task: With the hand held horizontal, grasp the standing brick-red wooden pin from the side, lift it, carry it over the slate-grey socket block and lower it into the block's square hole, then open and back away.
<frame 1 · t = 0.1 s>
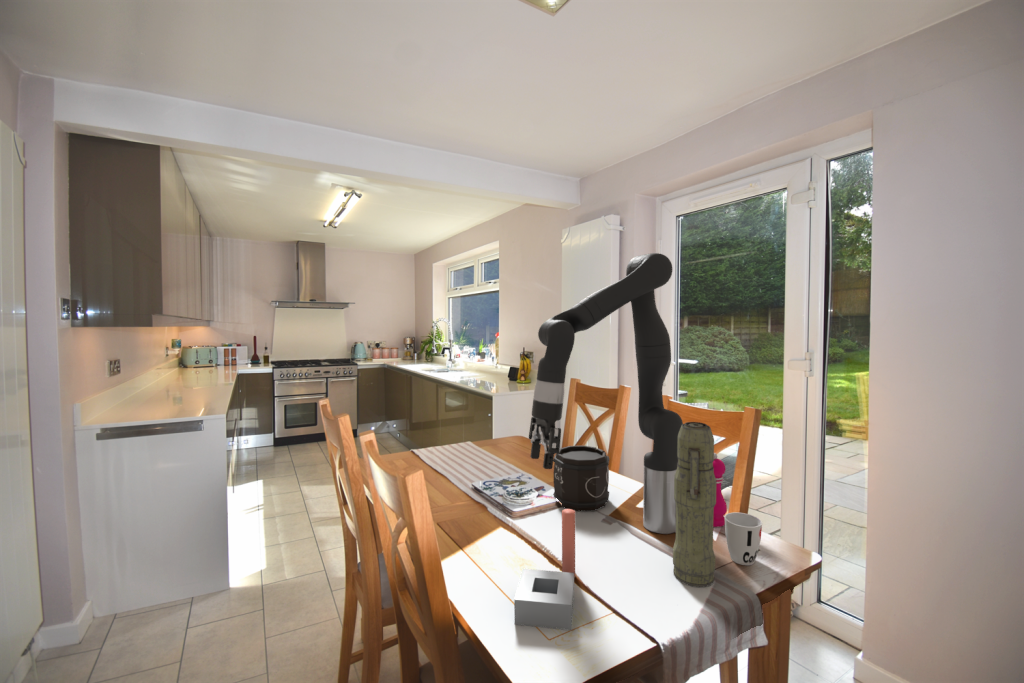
hand: (540, 463, 118), 22 cm above the table, tool pointing down, fingers open, 8 cm apart
cup: (742, 560, 114), on the table
thermos: (693, 576, 107), on the table
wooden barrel: (581, 501, 150), on the table
pepper mill: (712, 522, 134), on the table
pin: (568, 575, 108), on the table
socket block: (545, 609, 96), on the table
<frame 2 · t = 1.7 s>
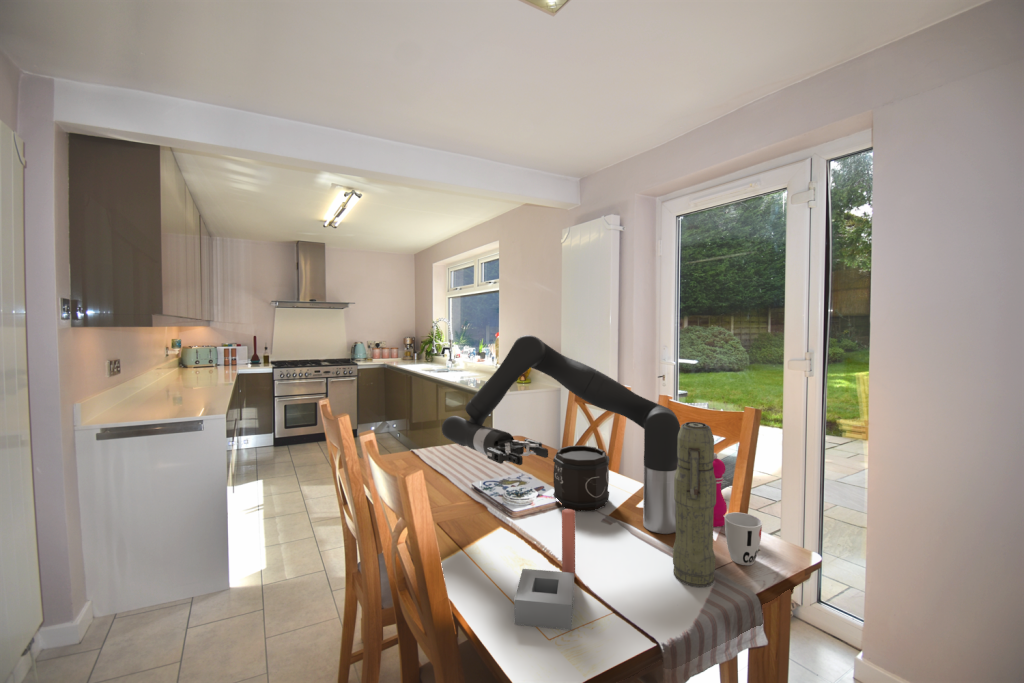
hand: (534, 457, 115), 25 cm above the table, tool horizontal, fingers open, 8 cm apart
nothing on the table moved.
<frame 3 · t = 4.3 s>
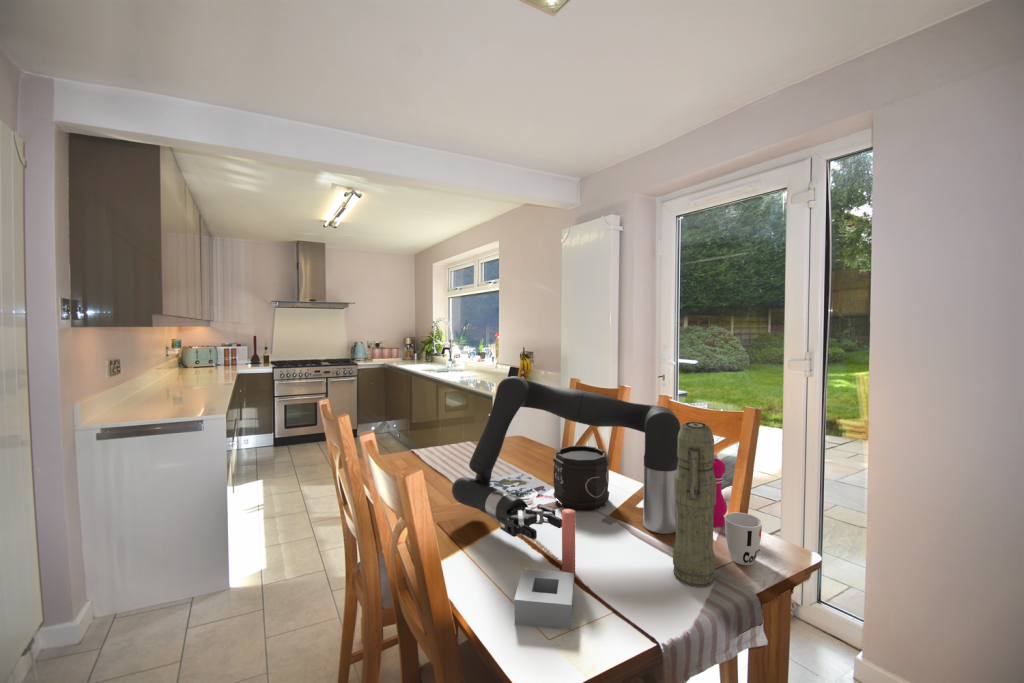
hand: (548, 529, 113), 8 cm above the table, tool horizontal, fingers open, 8 cm apart
nothing on the table moved.
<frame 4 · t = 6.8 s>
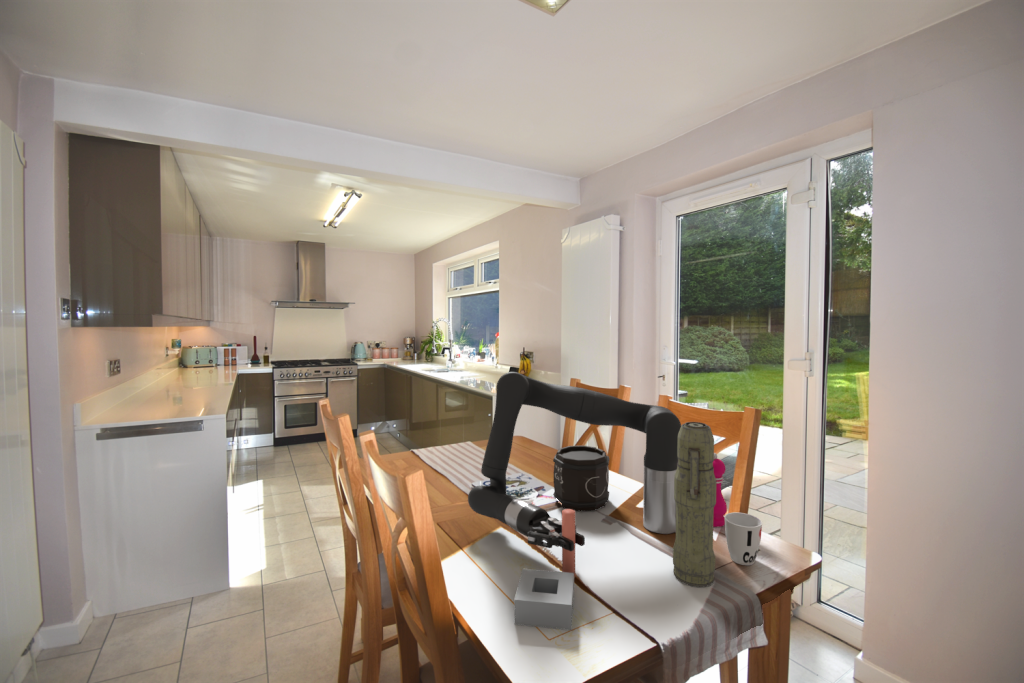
hand: (578, 543, 105), 8 cm above the table, tool horizontal, fingers closed on pin, 3 cm apart
pin: (568, 575, 108), on the table, touching gripper
everything else where it was.
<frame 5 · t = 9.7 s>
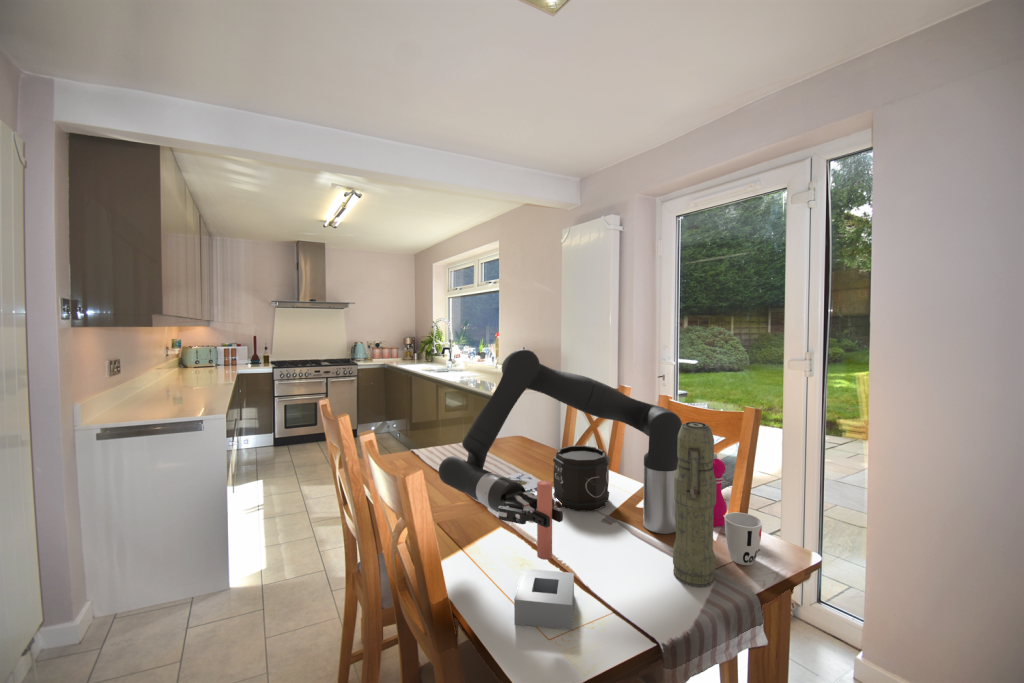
hand: (554, 519, 93), 20 cm above the table, tool horizontal, fingers closed on pin, 3 cm apart
pin: (544, 555, 95), point 11 cm above the table, touching gripper
everything else where it was.
when the fingers open (11 cm above the table, at t = 12.3 s): pin drops 2 cm, resting in socket block.
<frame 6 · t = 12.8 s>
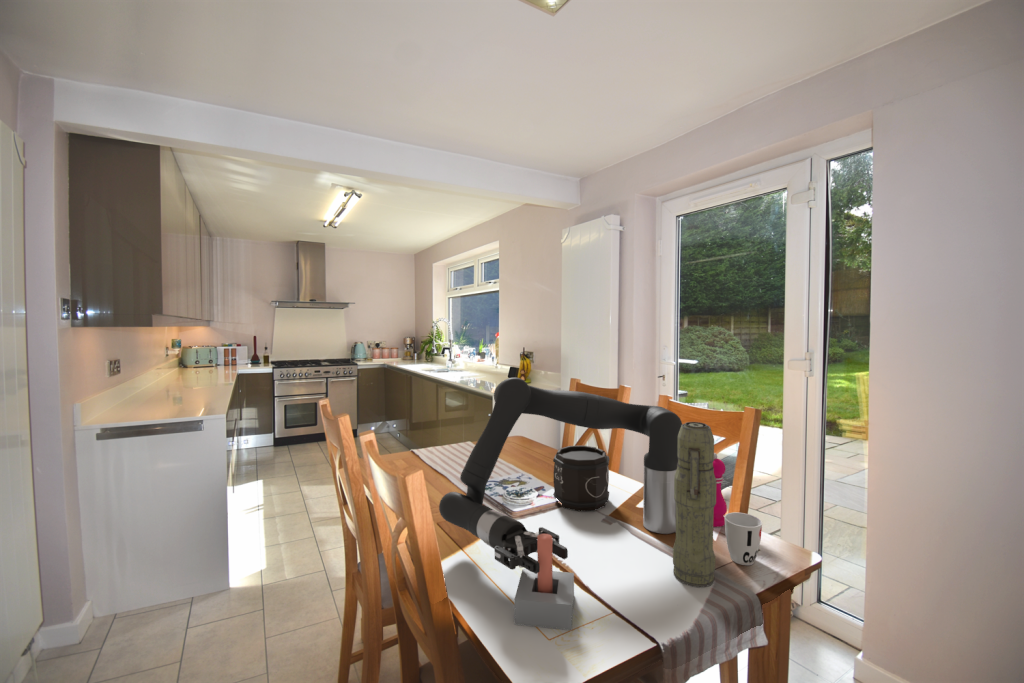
hand: (552, 561, 94), 11 cm above the table, tool horizontal, fingers open, 7 cm apart
pin: (545, 609, 96), resting in socket block
everything else where it was.
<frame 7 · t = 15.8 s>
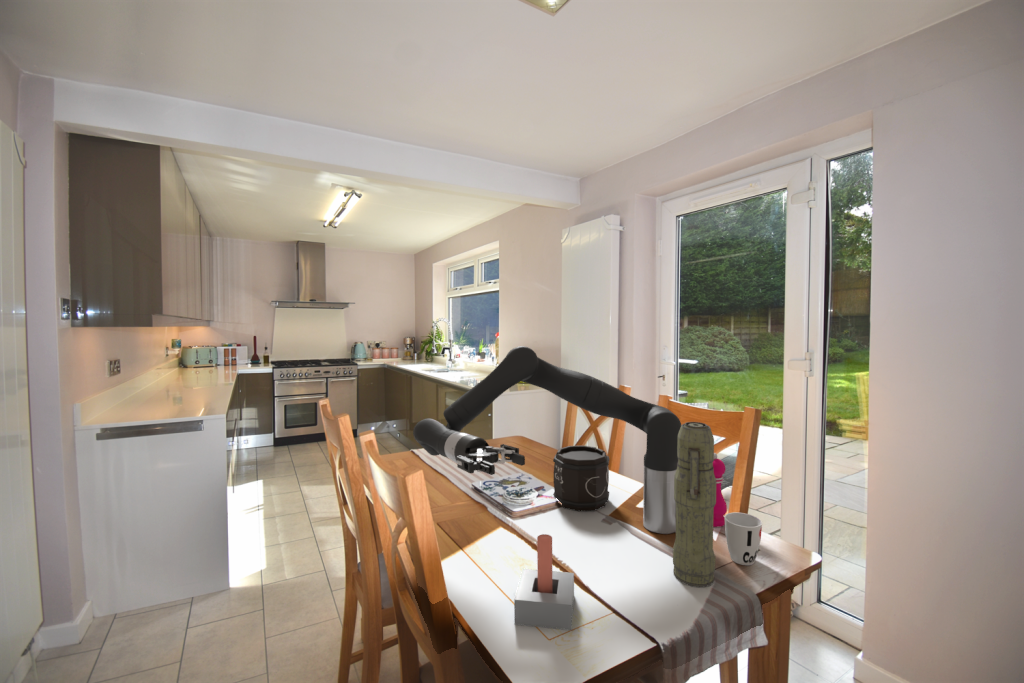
hand: (509, 465, 103), 27 cm above the table, tool horizontal, fingers open, 8 cm apart
nothing on the table moved.
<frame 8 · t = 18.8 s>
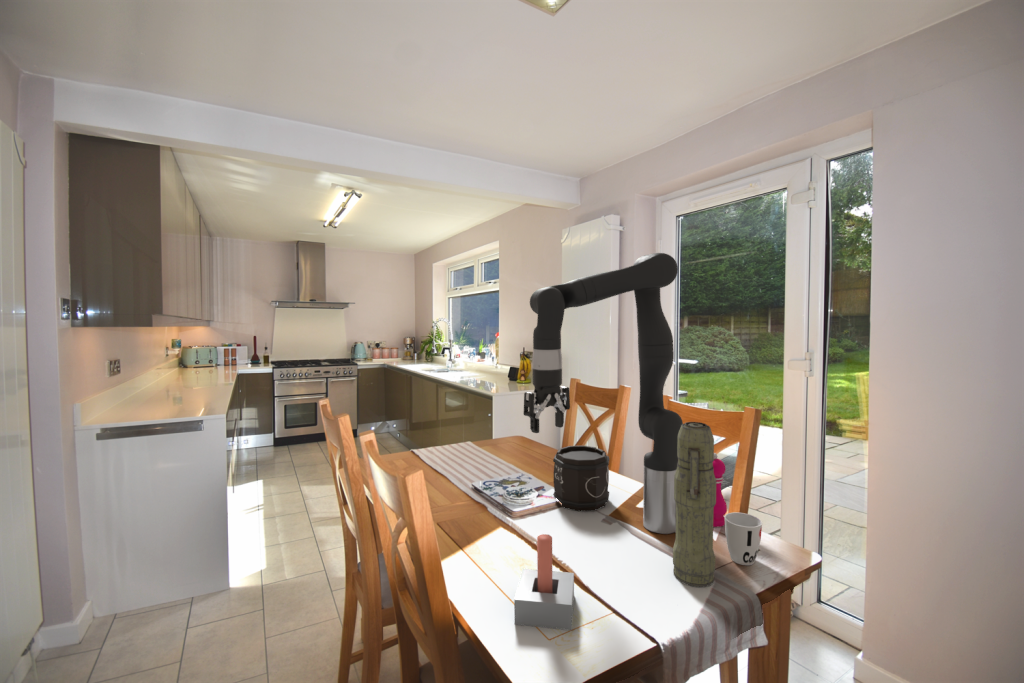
hand: (547, 429, 121), 30 cm above the table, tool pointing down, fingers open, 8 cm apart
nothing on the table moved.
at the end: pin 0.1 cm off-centre on the socket block, point 0.0 cm above the socket block's base; pin tilted 0°; the gripper is holding nothing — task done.
